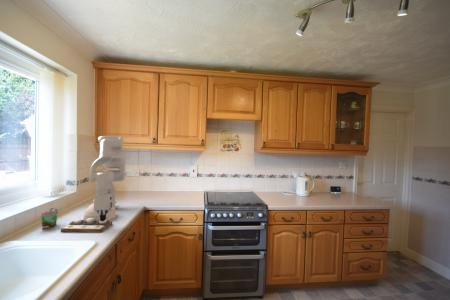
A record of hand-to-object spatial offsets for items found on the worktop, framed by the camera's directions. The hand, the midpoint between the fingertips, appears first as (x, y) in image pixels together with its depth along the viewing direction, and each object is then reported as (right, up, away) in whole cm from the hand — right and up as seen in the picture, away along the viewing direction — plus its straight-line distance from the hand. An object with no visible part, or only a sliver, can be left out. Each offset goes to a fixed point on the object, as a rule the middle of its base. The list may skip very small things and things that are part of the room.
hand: (102, 220), depth 137 cm
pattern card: (-8, -2, -6) cm, 10 cm away
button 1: (-16, -1, 0) cm, 16 cm away
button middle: (-8, 0, 0) cm, 8 cm away
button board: (-8, -4, -2) cm, 9 cm away
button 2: (0, -2, 0) cm, 2 cm away
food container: (-32, -4, 0) cm, 32 cm away
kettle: (-12, -4, +17) cm, 21 cm away
